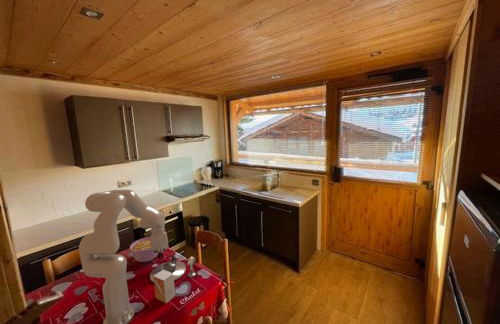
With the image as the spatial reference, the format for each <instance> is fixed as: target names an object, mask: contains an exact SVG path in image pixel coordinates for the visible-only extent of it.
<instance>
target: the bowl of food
mask: <svg viewBox="0 0 500 324" xmlns="http://www.w3.org/2000/svg"><path fill="white" fill-rule="evenodd" d="M150 238H151V236H149V237H144V238H143V237H142V238H140V239H138V240H135V241H134V242H132V244H130V246H129V250H130V252H131V254H132V256H133V258H134V260H135V261H137V262H140V263H148V262H150V261H152V260H155V258H156V257H157V258H158V254H157V253H155V252H151V245H150ZM160 251H161V250H159V252H160Z"/></svg>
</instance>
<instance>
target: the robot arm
mask: <svg viewBox="0 0 500 324" xmlns="http://www.w3.org/2000/svg"><path fill="white" fill-rule="evenodd" d="M84 203H85V204H84V206H85V209H87V211H89V212H91V213H92V212H94V213H99V215H97V217H96V218H95V220H94V223H93V232H90V233H88V234H86V235H85V236H83V237H82V239H81V240H80V242H79V246H78V252H79V253H78V254H79V258H80V263H81V266H82V267H81V269H82V271H83V273H84V275H86V276H87V277H91V278H103V279H105V281H104V283H103V285H102V294H103V302H104V309H105V315H106V316H105V318H104V319H103V322H102V324H129V323H130V321H131V320H132V319H133V317H134V316H135V309H134V308H133V306H131V305H130V298H129V297H130V296H129V288H128V281H127V264H128V261H127V258H126V257H125V255H122V254H116V253H117V252H118V251H119V249H120V245H121V244H120V238H119V230H118V223H117V221H118V219H119V216H120V214H121V212H122V211H123V209H125V210H126V211H127V212H128V213H129V214H130V215H131V216H133V217H134V218H137V219H139V224H138V225H139V227H140V228H141V229H144V230H145V229H151V230H149V231H148V232H149V234H150V237H151V238H150V245H151V252H155V253H157V254H158V255H157V259H158V260H159V261H160V260H163V259H162V258H164V254H163V253H164V251H166V250H168V249H169V241H168V234H167V232H166V229H165V228H166V227H165V224H166V218H165V215H164V212H163V211H161V210H159V209H157V208H155V207H152V206H150V205H149V204H146V203H145V202H144V201H143V200H142V199H141V197H140V196H139V195H138V194H137V193H136V192H135V191H133V190H131V189H113V190H107V191H101V192H94V193H92V194H89V196H88V197H86V200H85V201H84ZM159 250H160V252H159Z"/></svg>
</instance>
